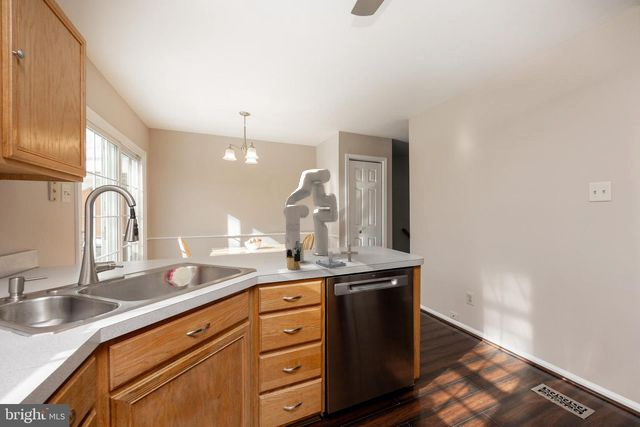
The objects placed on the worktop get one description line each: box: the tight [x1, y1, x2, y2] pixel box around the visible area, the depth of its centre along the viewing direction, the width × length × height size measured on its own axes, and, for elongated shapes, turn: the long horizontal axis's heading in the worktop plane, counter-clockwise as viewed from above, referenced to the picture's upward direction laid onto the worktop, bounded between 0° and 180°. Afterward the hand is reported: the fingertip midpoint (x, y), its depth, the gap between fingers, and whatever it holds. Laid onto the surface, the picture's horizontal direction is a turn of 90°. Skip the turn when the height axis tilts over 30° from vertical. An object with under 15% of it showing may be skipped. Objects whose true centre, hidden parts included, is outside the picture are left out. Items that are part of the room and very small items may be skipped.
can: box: [292, 241, 305, 263], centre depth 166 cm, size 9×9×12 cm
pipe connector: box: [340, 244, 359, 262], centre depth 163 cm, size 10×10×10 cm
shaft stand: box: [315, 250, 347, 269], centre depth 153 cm, size 14×11×8 cm
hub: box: [286, 256, 301, 271], centre depth 146 cm, size 6×6×6 cm
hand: (293, 260), depth 146 cm, fingers open, 9 cm apart
